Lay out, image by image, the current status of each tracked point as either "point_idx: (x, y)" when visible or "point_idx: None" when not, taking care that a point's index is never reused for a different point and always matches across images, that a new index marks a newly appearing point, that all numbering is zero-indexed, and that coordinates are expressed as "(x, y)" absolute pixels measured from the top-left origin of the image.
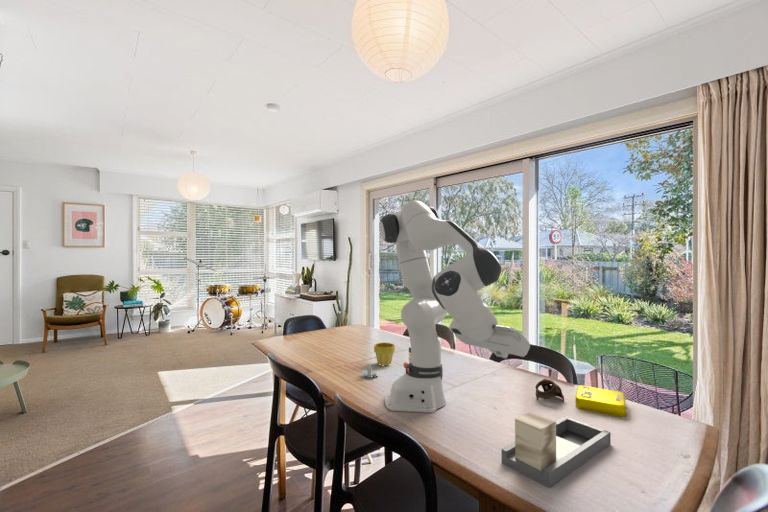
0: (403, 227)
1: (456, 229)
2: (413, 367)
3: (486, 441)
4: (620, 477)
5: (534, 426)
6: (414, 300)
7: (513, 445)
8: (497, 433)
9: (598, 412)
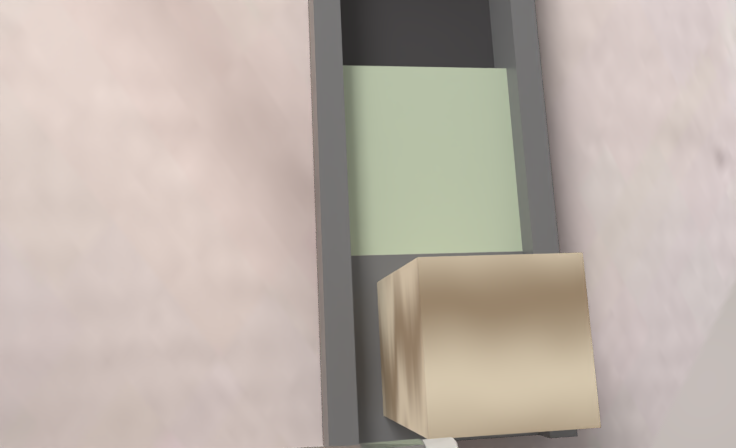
0: None
1: None
2: None
3: (149, 348)
4: (642, 132)
5: (558, 424)
6: None
7: (343, 370)
8: (131, 228)
9: None
